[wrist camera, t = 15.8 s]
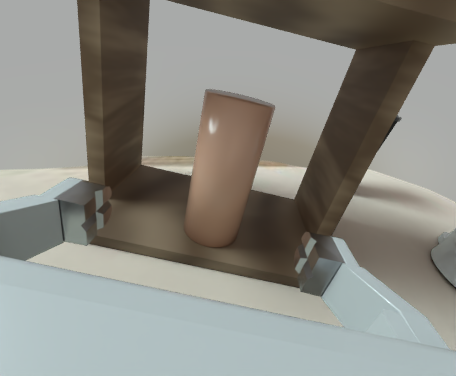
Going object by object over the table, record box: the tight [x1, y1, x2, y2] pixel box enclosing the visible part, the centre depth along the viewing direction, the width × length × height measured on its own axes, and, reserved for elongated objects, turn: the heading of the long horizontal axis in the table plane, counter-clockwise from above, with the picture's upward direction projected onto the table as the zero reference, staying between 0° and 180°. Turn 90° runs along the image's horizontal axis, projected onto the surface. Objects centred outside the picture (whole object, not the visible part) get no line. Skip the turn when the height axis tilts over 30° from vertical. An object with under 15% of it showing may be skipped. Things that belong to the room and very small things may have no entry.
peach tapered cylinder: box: [184, 89, 275, 247], centre depth 20 cm, size 5×5×12 cm
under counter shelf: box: [77, 0, 456, 288], centre depth 21 cm, size 24×14×21 cm, turn 86°
